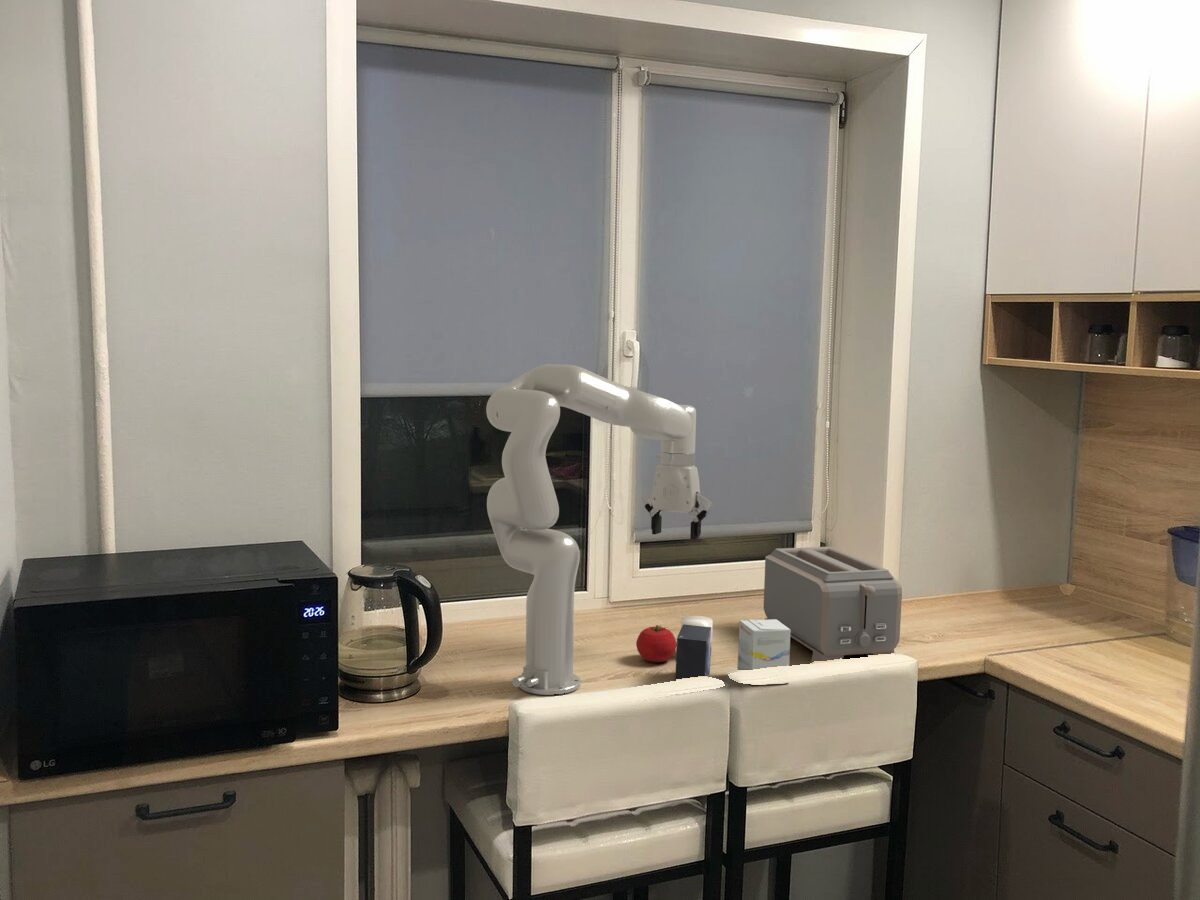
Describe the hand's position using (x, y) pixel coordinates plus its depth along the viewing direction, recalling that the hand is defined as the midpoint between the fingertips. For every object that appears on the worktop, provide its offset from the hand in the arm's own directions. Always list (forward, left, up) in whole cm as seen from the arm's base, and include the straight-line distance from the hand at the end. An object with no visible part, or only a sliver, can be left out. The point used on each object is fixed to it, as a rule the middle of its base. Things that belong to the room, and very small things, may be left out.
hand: (675, 536), depth 227 cm
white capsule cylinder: (0, -6, -26) cm, 27 cm away
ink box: (-6, -25, -26) cm, 37 cm away
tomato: (-9, -1, -26) cm, 28 cm away
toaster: (+24, -28, -27) cm, 45 cm away
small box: (-16, -14, -26) cm, 34 cm away
